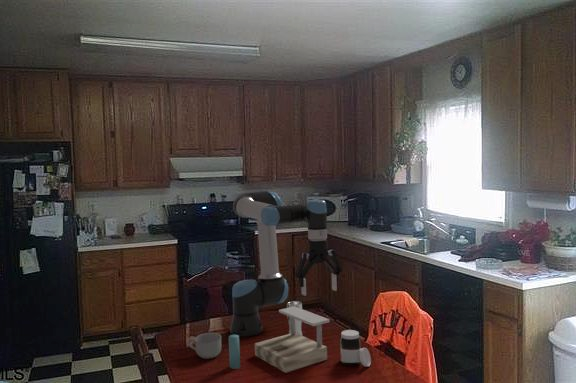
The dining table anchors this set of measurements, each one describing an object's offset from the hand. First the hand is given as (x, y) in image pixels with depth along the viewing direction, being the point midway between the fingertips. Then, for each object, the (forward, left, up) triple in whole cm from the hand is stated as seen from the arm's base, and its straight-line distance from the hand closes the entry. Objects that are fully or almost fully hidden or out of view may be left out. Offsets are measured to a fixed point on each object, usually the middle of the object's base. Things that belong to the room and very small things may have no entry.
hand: (319, 292), depth 197 cm
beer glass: (-27, +6, -26) cm, 38 cm away
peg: (-14, -32, -26) cm, 43 cm away
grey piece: (-8, -3, -21) cm, 23 cm away
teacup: (-32, -36, -26) cm, 55 cm away
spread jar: (+13, +6, -26) cm, 30 cm away
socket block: (-8, -10, -26) cm, 29 cm away
